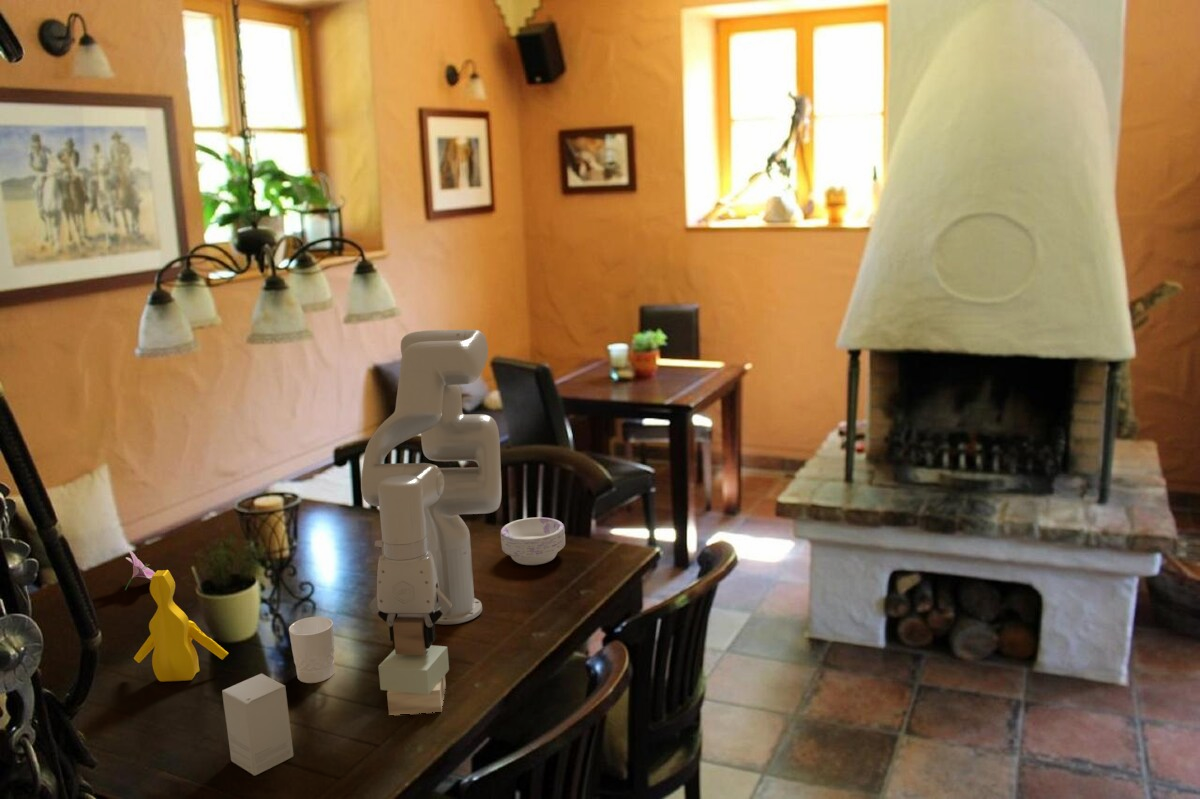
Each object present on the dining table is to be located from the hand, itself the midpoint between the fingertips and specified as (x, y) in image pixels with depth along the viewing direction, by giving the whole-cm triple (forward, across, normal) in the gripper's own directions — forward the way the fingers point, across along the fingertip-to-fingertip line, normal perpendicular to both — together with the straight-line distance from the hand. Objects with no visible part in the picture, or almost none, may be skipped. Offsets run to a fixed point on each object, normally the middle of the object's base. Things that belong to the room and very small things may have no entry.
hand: (413, 643), depth 183 cm
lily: (+11, -79, +47) cm, 92 cm away
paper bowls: (+11, +9, +67) cm, 68 cm away
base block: (+11, 0, -1) cm, 11 cm away
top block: (+6, 0, -1) cm, 6 cm away
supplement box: (+11, -20, -20) cm, 30 cm away
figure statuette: (+11, -48, +6) cm, 50 cm away
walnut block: (+1, 0, 0) cm, 1 cm away
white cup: (+11, -22, +8) cm, 26 cm away
